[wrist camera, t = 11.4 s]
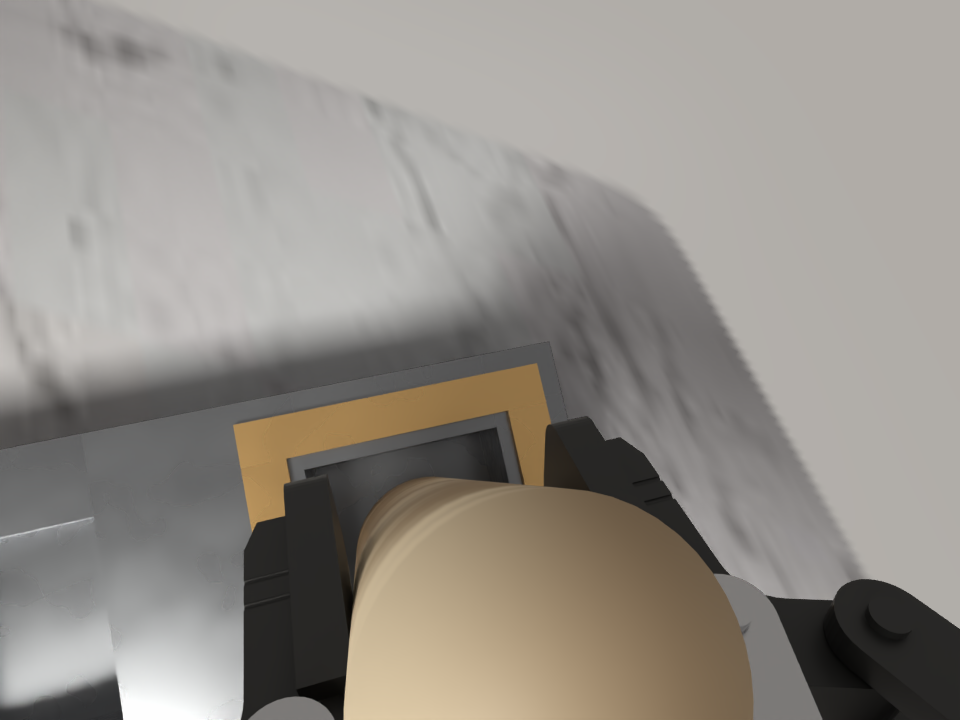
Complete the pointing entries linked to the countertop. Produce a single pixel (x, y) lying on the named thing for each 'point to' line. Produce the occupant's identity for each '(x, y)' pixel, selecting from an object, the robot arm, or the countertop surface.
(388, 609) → the peg
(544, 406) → the base plate
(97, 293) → the countertop surface
